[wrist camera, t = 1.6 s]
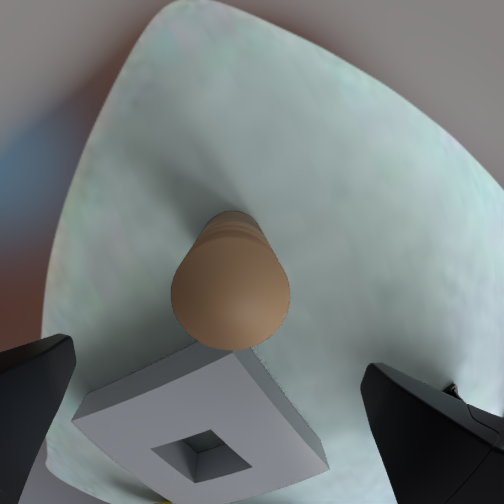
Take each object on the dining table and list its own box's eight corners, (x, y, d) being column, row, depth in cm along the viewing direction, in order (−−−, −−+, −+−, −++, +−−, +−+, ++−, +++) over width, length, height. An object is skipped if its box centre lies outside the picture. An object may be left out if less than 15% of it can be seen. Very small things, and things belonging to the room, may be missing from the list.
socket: (233, 322, 21) (232, 352, 17) (320, 440, 24) (329, 469, 20) (86, 394, 22) (70, 421, 18) (189, 484, 25) (186, 511, 22)
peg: (243, 199, 19) (252, 215, 9) (274, 252, 20) (310, 316, 10) (190, 231, 19) (148, 278, 10) (222, 281, 20) (212, 367, 10)
